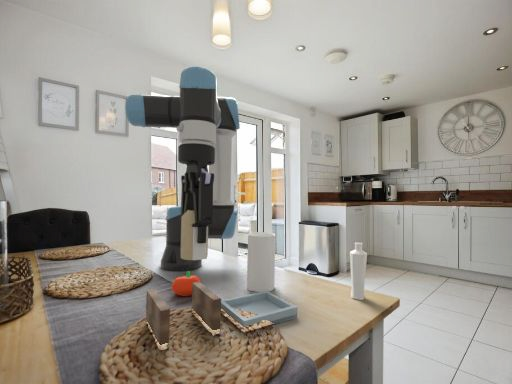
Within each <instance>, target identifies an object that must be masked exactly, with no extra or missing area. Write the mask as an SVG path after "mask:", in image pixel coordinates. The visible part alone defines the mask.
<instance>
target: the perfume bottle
mask: <svg viewBox="0 0 512 384" xmlns="http://www.w3.org/2000/svg"><path fill="white" fill-rule="evenodd" d="M363 244H364V243H363V242H354V249H353V250H349V262H350V266H349V267H350V279H351V281H350V283H351V286H350V287H351V292H350V295H349V296H350V297H351V299H354V300H358V301H363V300H365V298H366V295H365V281H366V271H367V270H366V269H367V261H368V260H367V259H368V252H365V251H364V250H363Z"/></svg>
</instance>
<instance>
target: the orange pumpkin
mask: <svg viewBox="0 0 512 384" xmlns="http://www.w3.org/2000/svg"><path fill="white" fill-rule="evenodd" d="M194 282H200V283H201V284H202V281H201V279H200V278H199V277H198V276H197V275H193V274H191V271H190V270H186V275H183V276H179V277H176V278H175V279H174V280H173V282H172V283H171V290H172V292H173V293H174V294H176V295H177V296H181V297H190V296H192V283H194Z"/></svg>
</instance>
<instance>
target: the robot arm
mask: <svg viewBox="0 0 512 384" xmlns="http://www.w3.org/2000/svg"><path fill="white" fill-rule="evenodd" d="M179 79H180V81H179V85H178V88H179V95H157V94H156V95H155V94H142V93H141V94H130V95H129V96H128V97H126V100H125V105H124V107H125V110H124V111H125V116H126V118H127V121H128V123H129V124H130V125H131V126H134V127H141V128H173V129H174V128H175V129H176V131H177V132H179V133H178V142H179V144H180V145H178V147H177V148H178V151H177V152H178V153H177V157H178V158H177V161H178V163H180V164H183V165H186V171H185V173H184V175H181V177H180V181H181V196H180V200H181V201H180V205H178V206H171V207H169V208H168V209H167V212H166V219H165V221H166V235H165V237H166V239H165V241H166V242H165V243H166V244H165V248H164V251H163V254H162V256H161V259H160V268H161V269H162V270H165V271H173V272H177V271H179V272H181V271H182V272H183V271H190V270H195V269H198V268H200V267H202V265H203V264H202V263H203V261H202V260H207V258H208V255H207V226H208V240H210V239H211V240H212V239H215V240H217V239H218V240H229V239H232V238H233V237H234V235H235V231H236V224H237V219H238V213H239V212H238V211H239V210H238V208H236V207H235V203H234V202H233V201H232V199H231V193H232V192H231V190H232V189H231V188H232V153H233V152H232V148H233V147H232V146H233V145H232V142H233V141H232V140H233V137H235V135H236V134H237V131H238V130H239V129H241V128H240V117H239V108H238V101H237V100H236V98H235V97H227V96H217V94H218V93H217V90H218V86H217V82H218V81H217V75H216V73H214V71H212V70H211V69H208V68H205V67H204V66H203V67H201V66H188V67H186V68H184V69H183V70H182V71H181V73H180V78H179ZM187 210H189V211H194V214H195V223H193V224H192V227H193V254H192V260H184V259H181V217H182V216H183V215H184V214H185V213H186V212H187ZM201 259H202V260H201Z"/></svg>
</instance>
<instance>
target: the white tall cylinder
mask: <svg viewBox="0 0 512 384" xmlns="http://www.w3.org/2000/svg"><path fill="white" fill-rule="evenodd" d="M246 261H247V262H246V263H247V266H246V269H247V270H246V289H247V290H249V291H251V292H255V293H259V292H264V291H268V292H272V291H274V289H275V277H276V276H275V274H276V273H275V270H276V268H275V267H276V266H275V265H276V263H275V262H276V234H275V233H273V232H268V231H267V232H263V231H262V232H261V231H257V232H256V231H254V232H253V231H252V232H249V233H248V234H247V259H246Z"/></svg>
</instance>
